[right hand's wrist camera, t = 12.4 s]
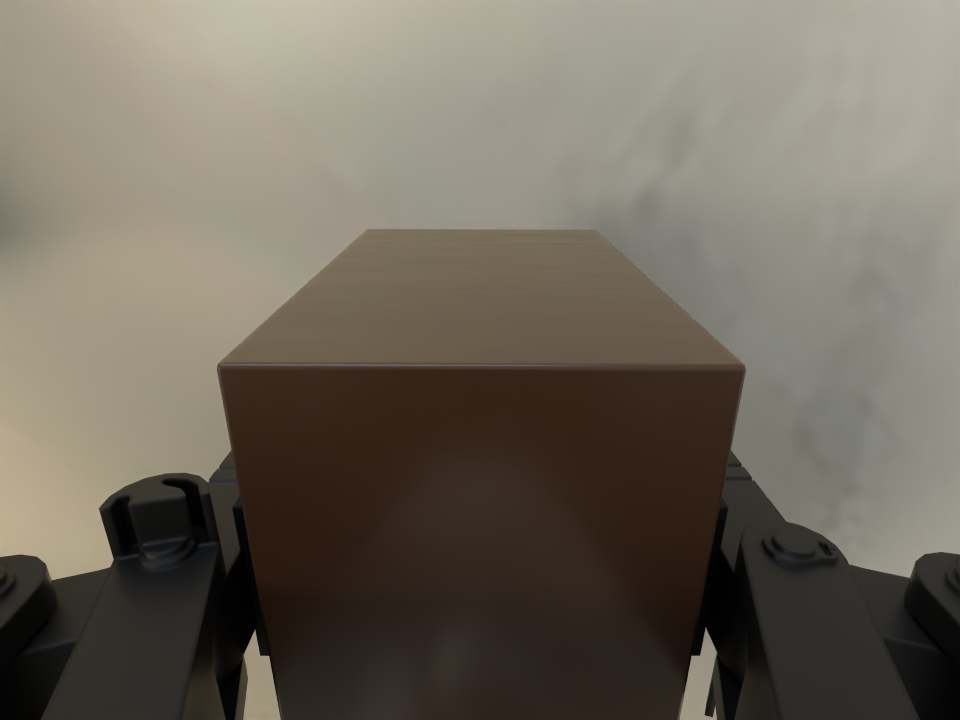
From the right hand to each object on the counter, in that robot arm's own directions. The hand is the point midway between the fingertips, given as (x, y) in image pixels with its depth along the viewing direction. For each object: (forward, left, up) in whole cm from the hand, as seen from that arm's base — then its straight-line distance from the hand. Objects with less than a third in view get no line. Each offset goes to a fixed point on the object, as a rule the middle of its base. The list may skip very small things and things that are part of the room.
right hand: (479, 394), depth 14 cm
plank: (0, -12, 0) cm, 12 cm away
